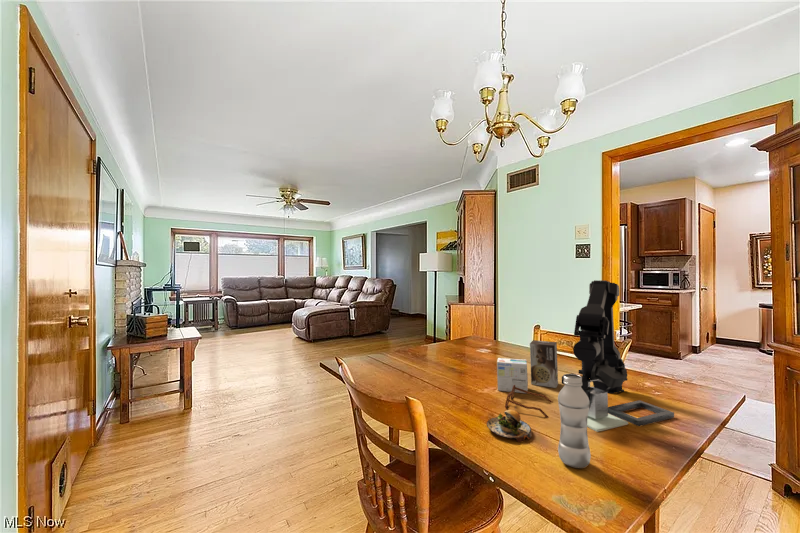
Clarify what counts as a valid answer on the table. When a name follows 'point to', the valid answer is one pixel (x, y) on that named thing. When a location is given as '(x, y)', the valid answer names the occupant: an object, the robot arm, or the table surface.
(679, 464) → the table surface
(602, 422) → the felt pad
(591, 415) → the block
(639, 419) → the socket frame
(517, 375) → the light bulb box
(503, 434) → the burger
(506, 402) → the glasses
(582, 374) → the robot arm
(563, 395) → the plastic bottle
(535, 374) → the coffee box
